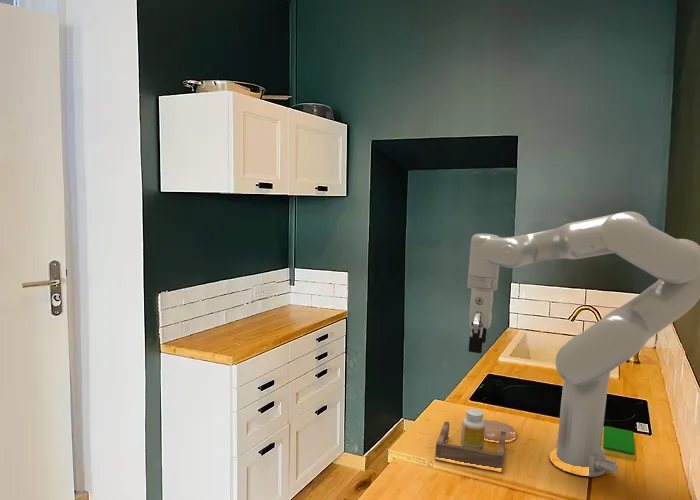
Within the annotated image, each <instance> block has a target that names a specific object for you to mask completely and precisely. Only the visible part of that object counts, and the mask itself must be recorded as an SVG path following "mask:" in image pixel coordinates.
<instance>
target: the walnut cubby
mask: <svg viewBox="0 0 700 500" xmlns="http://www.w3.org/2000/svg"><path fill="white" fill-rule="evenodd" d="M449 432H450V422H449V421H444V423H443V425H442V427H441V430H440V433H439V436H438V438H437V440H436V443H435V453H434V456H435V457H438V458H445V459H451V460H455V461H459V462H464V463H470V464H476V465H482V466H489V467H494V468H502V469H503V466H504V458H503V456H505V449H506V448H505V447H506V443H505V437H506V432H503V431H501V434H500V441H499V444H498V449H497V452H495V451H491V450H490V451H489V450H484V449H483V450H479V449H473V448H468V447H463V446H461V445H458V444H457V445H456V444H451V443H446V440H447V438H448V439H449V437H448V435H450V434H449ZM447 441H448V440H447ZM504 448H505V449H504ZM435 457H434V458H435ZM502 465H503V466H502Z"/></svg>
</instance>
